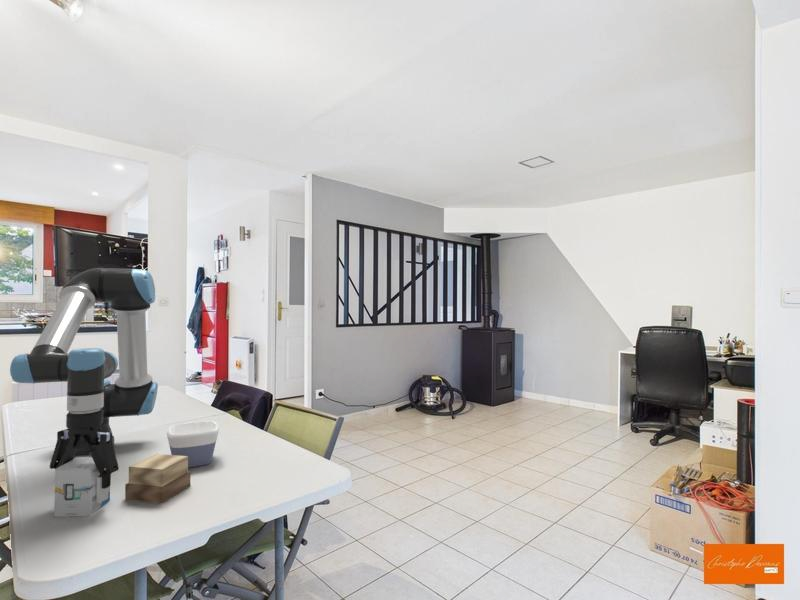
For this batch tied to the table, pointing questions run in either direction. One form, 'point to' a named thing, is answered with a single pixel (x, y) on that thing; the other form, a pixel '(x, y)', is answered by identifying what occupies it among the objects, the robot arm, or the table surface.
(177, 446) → the bowl
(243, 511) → the table surface
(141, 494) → the tower base
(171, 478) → the tower top
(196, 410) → the table surface
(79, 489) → the ink box
